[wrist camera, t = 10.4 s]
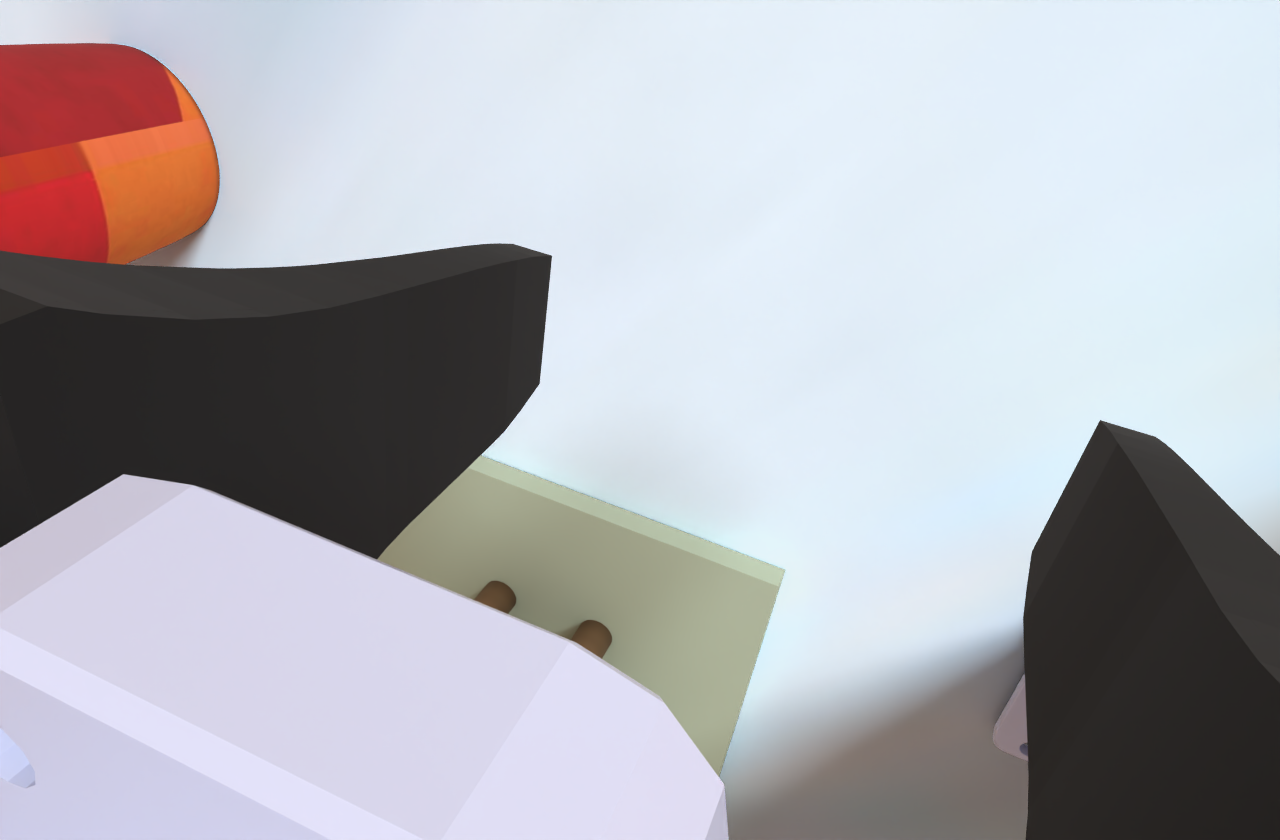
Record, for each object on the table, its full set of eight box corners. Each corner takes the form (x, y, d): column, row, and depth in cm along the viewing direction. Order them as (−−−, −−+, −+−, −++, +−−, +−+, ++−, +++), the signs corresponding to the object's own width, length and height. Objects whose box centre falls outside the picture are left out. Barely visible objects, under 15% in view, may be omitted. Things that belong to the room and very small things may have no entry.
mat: (785, 570, 26) (778, 586, 25) (688, 871, 34) (682, 889, 33) (386, 420, 29) (371, 431, 28) (389, 727, 37) (378, 741, 37)
